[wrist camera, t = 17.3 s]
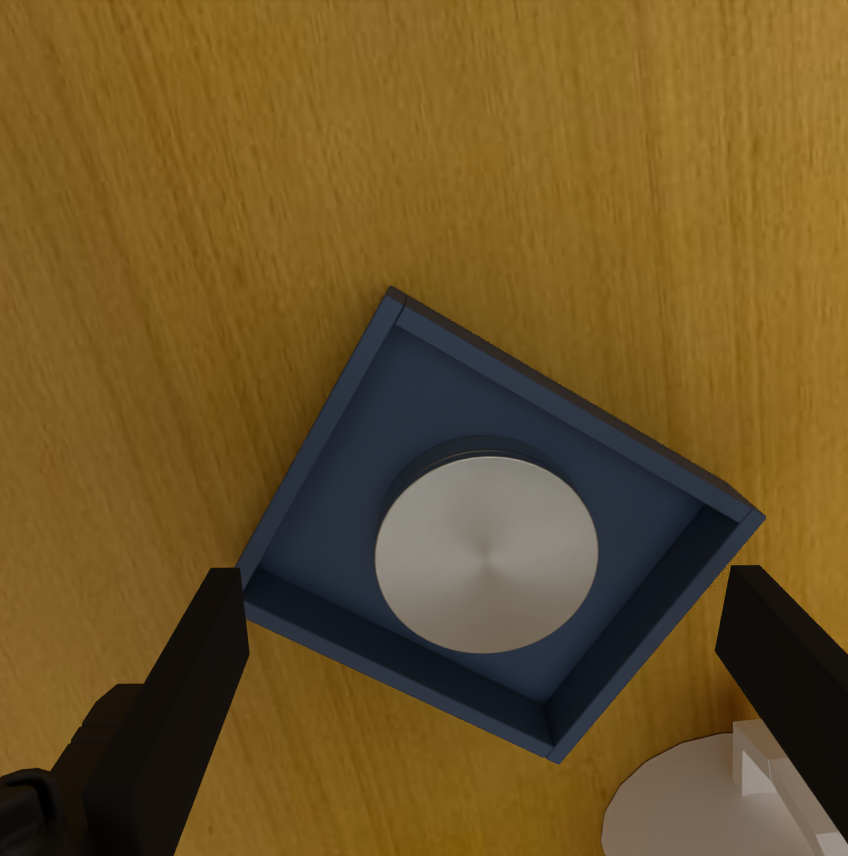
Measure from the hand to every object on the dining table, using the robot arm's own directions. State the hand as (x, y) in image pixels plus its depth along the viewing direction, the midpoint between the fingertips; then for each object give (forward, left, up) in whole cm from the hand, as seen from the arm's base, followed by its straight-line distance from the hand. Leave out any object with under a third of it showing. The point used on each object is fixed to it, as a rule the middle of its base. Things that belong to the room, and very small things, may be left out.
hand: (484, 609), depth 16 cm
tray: (0, 0, -5) cm, 5 cm away
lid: (0, 0, -3) cm, 3 cm away
